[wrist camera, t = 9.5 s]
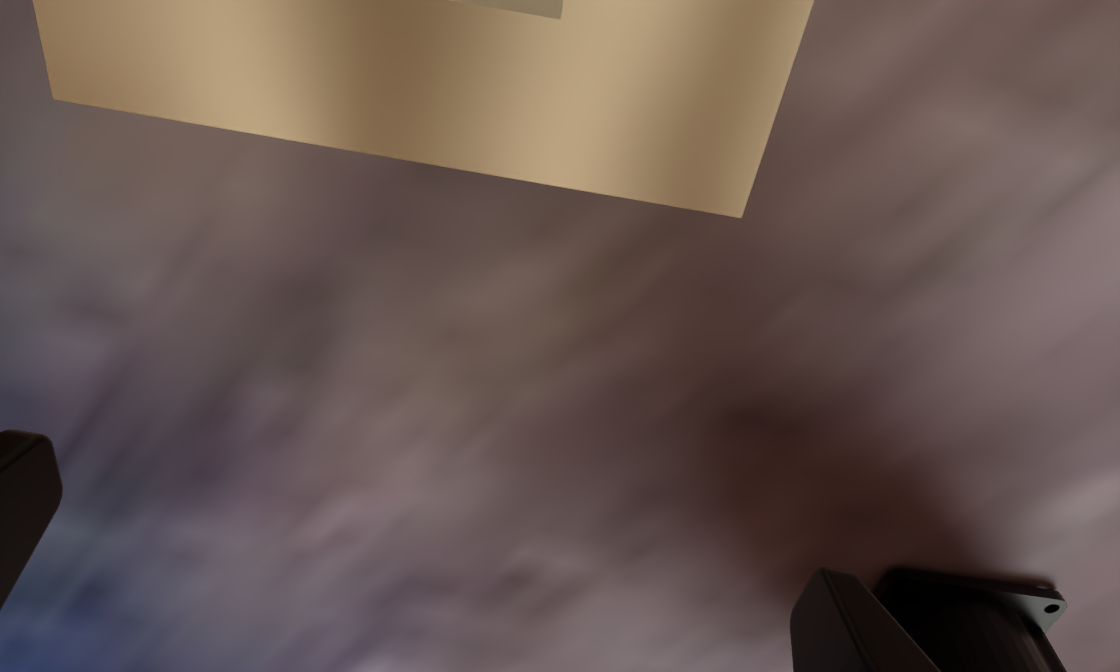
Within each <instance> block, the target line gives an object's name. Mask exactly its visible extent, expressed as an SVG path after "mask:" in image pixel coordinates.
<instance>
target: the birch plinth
mask: <svg viewBox="0 0 1120 672" xmlns="http://www.w3.org/2000/svg"><path fill="white" fill-rule="evenodd" d="M813 2H814V0H563V6H562V13H561V19H554V18H549V17H543V16H537V15H531V14H526V13H520V12H514V11H508V10H503V9H497V8H491V7H485V6H480V5H474V4H468V3H462V2H457V1H451V0H33V4H34V9H35V14H36V19H37V24H38V28H39V33H40V38H41V43H42V48H43V52H44V57H45V62H46V67H47V72H48V77H49V81H50V86H51V91H52V96H53V99H56V100H61V101H67V102H73V103H79V104H84V105H90V106H96V107H102V108H108V109H113V110H119V111H125V112H131V113H136V114H142V115H148V116H154V117H160V118H165V119H171V120H177V121H183V122H188V123H194V124H200V125H206V126H212V127H217V128H223V129H229V130H235V131H241V132H246V133H252V134H258V135H264V136H269V137H275V138H281V139H287V140H293V141H298V142H304V143H310V144H316V145H321V146H327V147H333V148H339V149H345V150H350V151H356V152H362V153H368V154H373V155H379V156H385V157H391V158H397V159H402V160H408V161H414V162H420V163H425V164H431V165H437V166H443V167H449V168H454V169H460V170H466V171H472V172H477V173H483V174H489V175H495V176H501V177H506V178H512V179H518V180H524V181H529V182H535V183H541V184H547V185H553V186H558V187H564V188H570V189H576V190H581V191H587V192H593V193H599V194H605V195H610V196H616V197H622V198H628V199H633V200H639V201H645V202H651V203H657V204H662V205H668V206H674V207H680V208H685V209H691V210H697V211H703V212H709V213H714V214H720V215H726V216H732V217H737V218H742V215H743V212H744V209H745V206H746V203H747V200H748V197H749V194H750V191H751V188H752V185H753V182H754V179H755V176H756V173H757V170H758V167H759V164H760V161H761V158H762V155H763V152H764V149H765V146H766V143H767V140H768V137H769V134H770V131H771V128H772V125H773V122H774V119H775V116H776V113H777V110H778V107H779V104H780V101H781V98H782V95H783V92H784V89H785V86H786V83H787V80H788V77H789V74H790V71H791V68H792V65H793V62H794V59H795V56H796V53H797V50H798V47H799V44H800V41H801V38H802V35H803V32H804V29H805V26H806V23H807V20H808V17H809V14H810V11H811V8H812V5H813Z"/></svg>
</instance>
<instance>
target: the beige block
mask: <svg viewBox="0 0 1120 672" xmlns="http://www.w3.org/2000/svg"><path fill="white" fill-rule="evenodd" d="M451 1H457V2H462V3H468V4H474V5H480V6H485V7H491V8H497V9H503V10H508V11H514V12H520V13H526V14H531V15H537V16H543V17H549V18H554V19H561V13H562V6H563V0H451Z"/></svg>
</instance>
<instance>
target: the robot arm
mask: <svg viewBox="0 0 1120 672" xmlns="http://www.w3.org/2000/svg"><path fill="white" fill-rule="evenodd" d="M62 491H63V486H62V481H61V477H60V472H59V468H58V464H57V460H56V456H55V452H54V447H53V444H52V441H51V440H50V439H49V438H48V437H47V436H45V435H43V434H38V433H32V432H26V431H20V430H5V431H2V432H0V610H1V609H2V607H3V605H4V603H5V602H6V600H7V598H8V596H9V594H10V593H11V591H12V589H13V587H14V586H15V584H16V582H17V580H18V578H19V577H20V575H21V573H22V571H23V569H24V568H25V566H26V564H27V562H28V561H29V559H30V557H31V555H32V553H33V552H34V550H35V548H36V546H37V545H38V543H39V541H40V539H41V537H42V536H43V534H44V532H45V530H46V528H47V527H48V525H49V523H50V521H51V520H52V518H53V516H54V514H55V512H56V511H57V509H58V507H59V504H60V501H61V498H62ZM1066 608H1067V603H1066V602H1065V600H1064V599H1063V597H1062V595H1061V594H1060V593H1059V592H1058V591H1055V590H1049V589H1042V588H1035V587H1028V586H1021V585H1014V584H1007V583H1000V582H993V581H986V580H979V579H971V578H964V577H957V576H950V575H943V574H936V573H929V572H922V571H915V570H908V569H895V570H891V571H890V572H888V573H886V574H885V575H884V577H883V578H882V580H881V581H880V583H879V585H878V586H877V588H876V589H875V591H874V592H873V594H872V593H871V592H870V591H869V590H868V588H867V587H866V586H865V585H864V584H863V583H862V582H861V580H860V579H859V578H858V577H857V576H856V575H854V574H853V573H851V572H849V571H844V570H838V569H832V568H826V567H820V568H818V569H817V570H815V571H814V573H813V574H812V575H811V577H810V579H809V581H808V583H807V584H806V586H805V588H804V590H803V591H802V593H801V595H800V597H799V599H798V600H797V602H796V604H795V606H794V608H793V610H792V614H791V619H790V633H791V646H792V658H793V671H794V672H1066V670H1065V668H1064V666H1063V665H1062V663H1061V661H1060V660H1059V658H1058V656H1057V654H1056V653H1055V651H1054V649H1053V647H1052V646H1051V644H1050V642H1049V641H1048V639H1047V637H1046V635H1045V633H1046V632H1047V631H1048V630H1049V629H1050V627H1051V626H1052V625H1053V624H1054V623H1055V622H1056V621H1057V620H1058V618H1059V617H1060V616H1061V615H1062V614H1063V613H1064V612H1065V610H1066Z"/></svg>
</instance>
